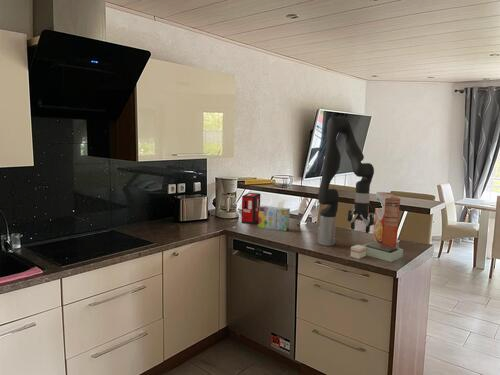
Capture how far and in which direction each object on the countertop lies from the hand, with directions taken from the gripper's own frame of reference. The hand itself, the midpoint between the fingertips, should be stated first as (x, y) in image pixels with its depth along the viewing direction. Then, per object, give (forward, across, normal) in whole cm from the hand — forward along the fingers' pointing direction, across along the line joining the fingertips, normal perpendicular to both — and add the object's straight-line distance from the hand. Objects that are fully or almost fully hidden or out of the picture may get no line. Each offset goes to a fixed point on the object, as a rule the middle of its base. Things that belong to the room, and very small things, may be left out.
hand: (359, 231), depth 201 cm
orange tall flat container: (+15, -4, +36) cm, 39 cm away
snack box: (+14, -71, +8) cm, 73 cm away
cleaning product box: (+14, -96, +10) cm, 98 cm away
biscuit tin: (+14, +7, +12) cm, 19 cm away
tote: (+14, +7, +12) cm, 20 cm away
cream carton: (+15, 0, 0) cm, 15 cm away
